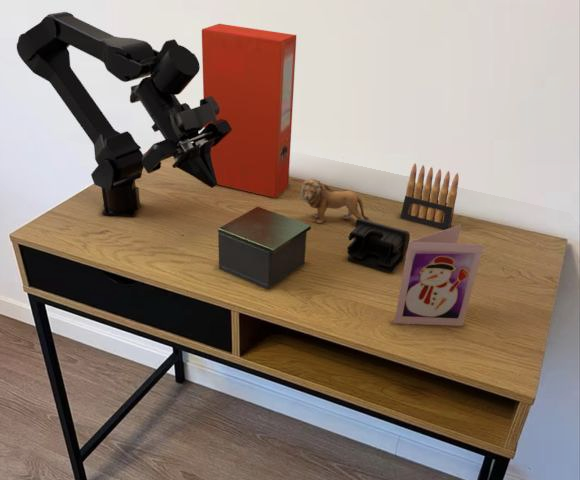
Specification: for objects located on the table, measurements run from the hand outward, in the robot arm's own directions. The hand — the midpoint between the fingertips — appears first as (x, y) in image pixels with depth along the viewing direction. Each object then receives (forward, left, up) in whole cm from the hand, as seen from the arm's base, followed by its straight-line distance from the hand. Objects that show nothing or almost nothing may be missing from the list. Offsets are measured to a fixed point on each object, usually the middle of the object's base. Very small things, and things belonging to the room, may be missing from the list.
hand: (214, 186), depth 114 cm
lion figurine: (+23, +14, -13) cm, 29 cm away
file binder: (+4, +31, -13) cm, 33 cm away
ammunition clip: (+43, +16, -13) cm, 47 cm away
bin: (+9, -6, -12) cm, 17 cm away
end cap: (+31, -1, -13) cm, 33 cm away
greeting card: (+38, -19, -13) cm, 44 cm away
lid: (+9, -6, -5) cm, 13 cm away
